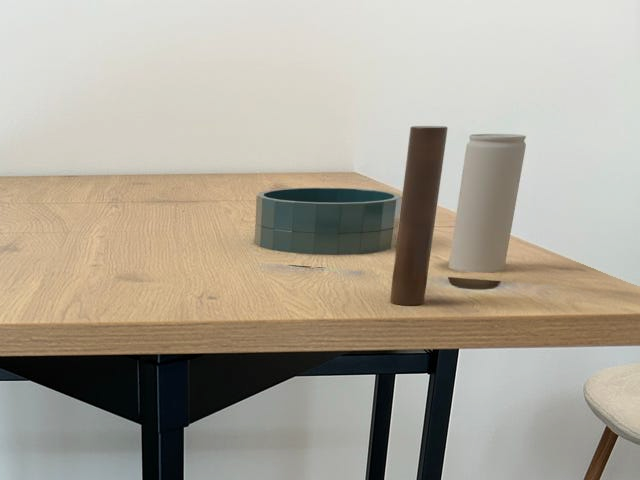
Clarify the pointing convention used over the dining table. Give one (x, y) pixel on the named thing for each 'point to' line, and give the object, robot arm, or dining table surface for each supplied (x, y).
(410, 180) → the stick
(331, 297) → the dining table surface
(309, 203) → the bowl
